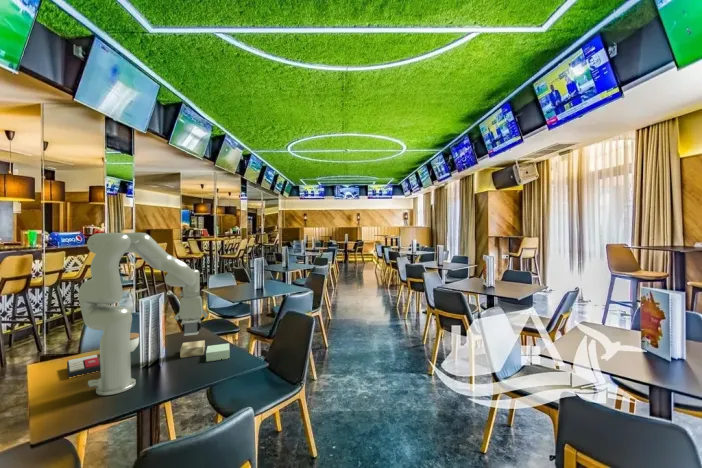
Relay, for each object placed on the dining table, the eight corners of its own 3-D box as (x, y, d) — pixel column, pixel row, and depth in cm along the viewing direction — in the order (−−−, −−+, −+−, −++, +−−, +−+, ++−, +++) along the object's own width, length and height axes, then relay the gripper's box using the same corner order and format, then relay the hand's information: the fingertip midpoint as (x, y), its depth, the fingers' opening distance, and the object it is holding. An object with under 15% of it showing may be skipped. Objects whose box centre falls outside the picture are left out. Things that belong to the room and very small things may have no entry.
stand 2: (206, 361, 154) (206, 353, 154) (207, 354, 163) (207, 346, 163) (229, 358, 157) (229, 349, 157) (229, 351, 167) (229, 343, 167)
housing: (184, 335, 161) (183, 320, 161) (185, 332, 167) (185, 317, 167) (197, 334, 163) (197, 319, 163) (198, 331, 169) (198, 316, 169)
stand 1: (180, 357, 159) (180, 349, 159) (183, 350, 169) (183, 342, 169) (203, 354, 163) (203, 346, 163) (204, 348, 172) (204, 340, 172)
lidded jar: (144, 348, 173) (144, 330, 173) (124, 356, 163) (123, 337, 163) (130, 346, 177) (129, 328, 177) (109, 353, 167) (108, 334, 167)
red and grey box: (68, 371, 138) (66, 359, 149) (68, 381, 138) (67, 368, 149) (101, 363, 145) (97, 353, 157) (101, 373, 146) (97, 362, 157)
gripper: (170, 297, 159) (170, 335, 159) (209, 294, 165) (209, 331, 164) (173, 294, 166) (173, 331, 166) (210, 292, 172) (210, 327, 171)
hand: (191, 331), depth 165 cm, fingers closed on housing, 5 cm apart
